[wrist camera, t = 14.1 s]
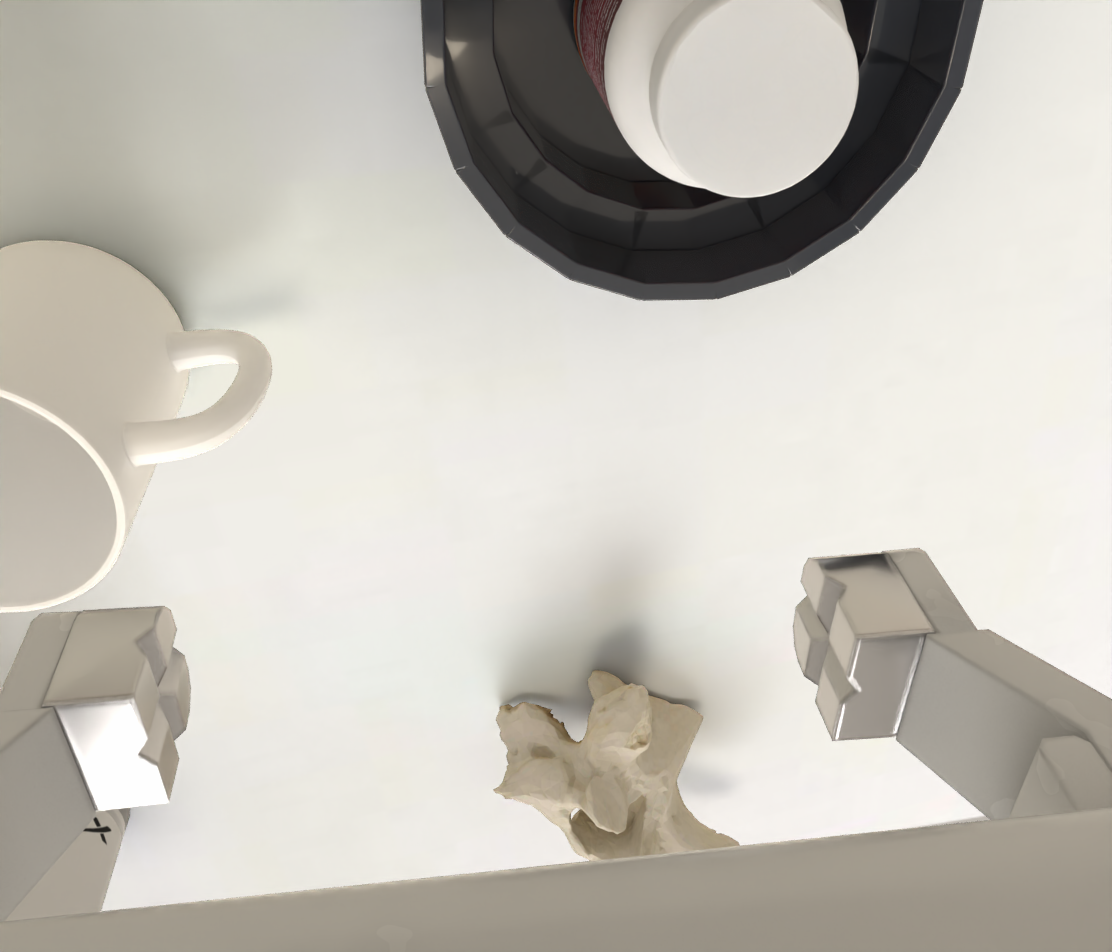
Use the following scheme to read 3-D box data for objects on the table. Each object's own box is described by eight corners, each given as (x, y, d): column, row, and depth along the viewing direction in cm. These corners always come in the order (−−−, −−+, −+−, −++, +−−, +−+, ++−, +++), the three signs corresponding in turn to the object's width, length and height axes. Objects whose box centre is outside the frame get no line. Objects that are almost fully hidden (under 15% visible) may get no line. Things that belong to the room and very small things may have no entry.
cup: (-91, 253, 35) (-258, 404, 27) (255, 197, 35) (196, 330, 27) (14, 452, 40) (-99, 633, 31) (319, 403, 40) (287, 570, 31)
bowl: (321, -63, 31) (298, -31, 26) (763, -440, 27) (835, -488, 22) (597, 307, 38) (619, 386, 33) (970, 58, 34) (1059, 106, 29)
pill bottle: (679, 146, 35) (762, 279, 26) (531, 34, 32) (566, 137, 23) (806, -18, 32) (948, 66, 23) (655, -153, 30) (749, -120, 21)
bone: (613, 612, 49) (657, 723, 42) (771, 759, 55) (832, 877, 48) (476, 722, 50) (496, 847, 43) (645, 853, 57) (686, 981, 49)
